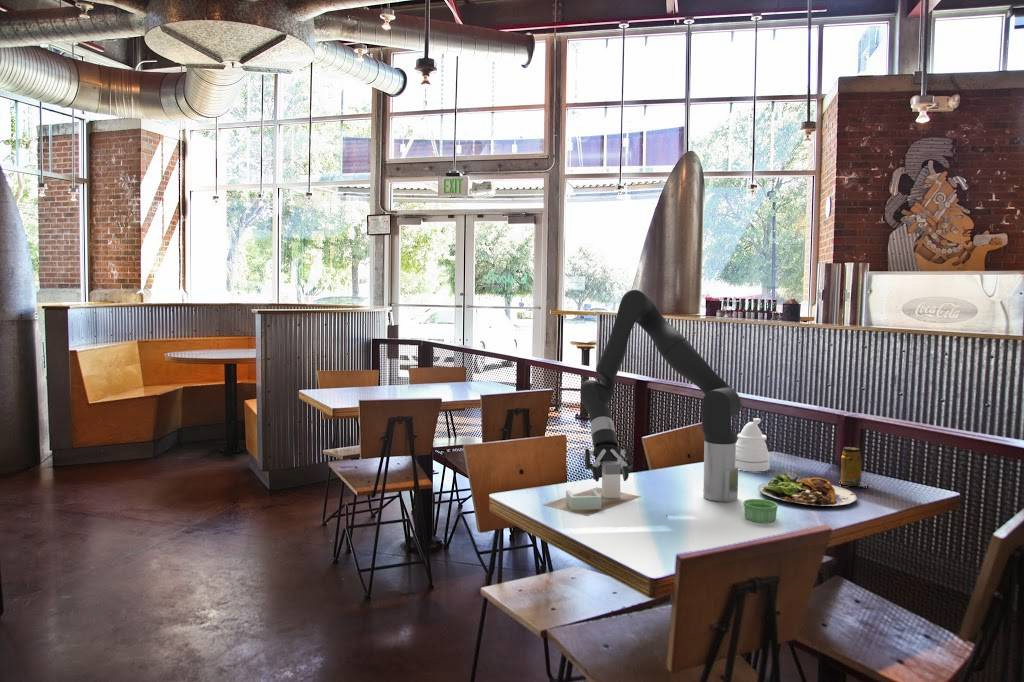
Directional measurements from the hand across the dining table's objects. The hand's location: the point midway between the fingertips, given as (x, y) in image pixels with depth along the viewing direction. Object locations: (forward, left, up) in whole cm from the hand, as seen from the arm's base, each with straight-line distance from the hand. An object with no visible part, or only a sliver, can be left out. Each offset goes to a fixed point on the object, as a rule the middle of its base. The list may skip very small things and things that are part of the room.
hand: (611, 479), depth 221 cm
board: (+2, +7, -6) cm, 10 cm away
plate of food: (-42, -44, -7) cm, 61 cm away
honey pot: (-12, -70, -7) cm, 71 cm away
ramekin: (-40, -13, -7) cm, 43 cm away
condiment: (-47, -70, -7) cm, 84 cm away
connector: (+1, -1, -5) cm, 5 cm away
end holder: (+1, +13, -5) cm, 14 cm away
